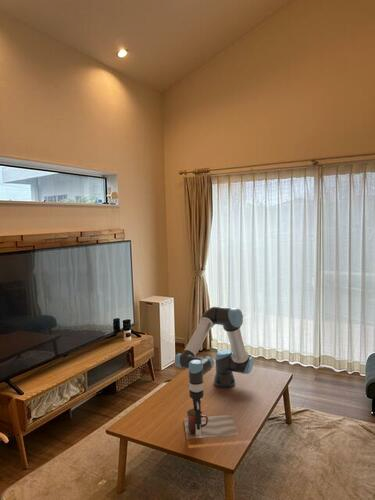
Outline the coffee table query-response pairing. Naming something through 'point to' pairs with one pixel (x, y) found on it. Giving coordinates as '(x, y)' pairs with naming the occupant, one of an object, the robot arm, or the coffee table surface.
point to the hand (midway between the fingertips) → (197, 429)
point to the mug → (194, 420)
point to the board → (213, 427)
